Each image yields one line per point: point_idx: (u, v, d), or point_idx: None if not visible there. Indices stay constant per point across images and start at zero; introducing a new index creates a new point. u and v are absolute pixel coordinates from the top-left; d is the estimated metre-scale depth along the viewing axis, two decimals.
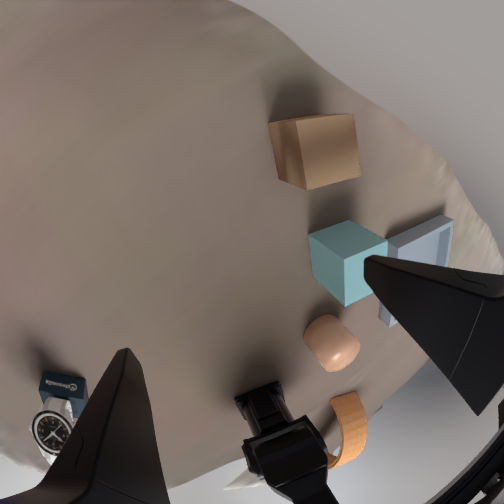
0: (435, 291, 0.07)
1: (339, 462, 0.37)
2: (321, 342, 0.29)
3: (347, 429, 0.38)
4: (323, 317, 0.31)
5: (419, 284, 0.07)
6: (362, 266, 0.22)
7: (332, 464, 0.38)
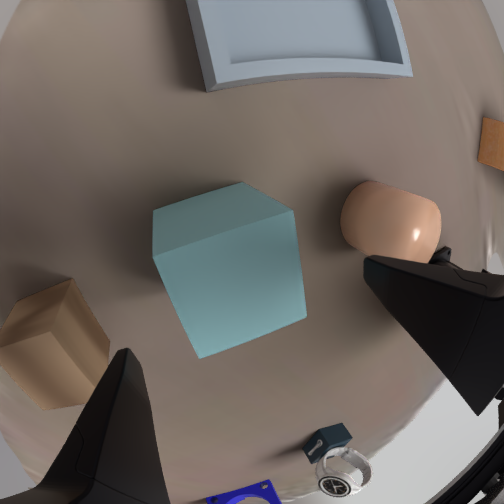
0: (435, 291, 0.07)
1: None
2: None
3: None
4: (343, 223, 0.18)
5: (419, 284, 0.07)
6: (219, 314, 0.10)
7: None
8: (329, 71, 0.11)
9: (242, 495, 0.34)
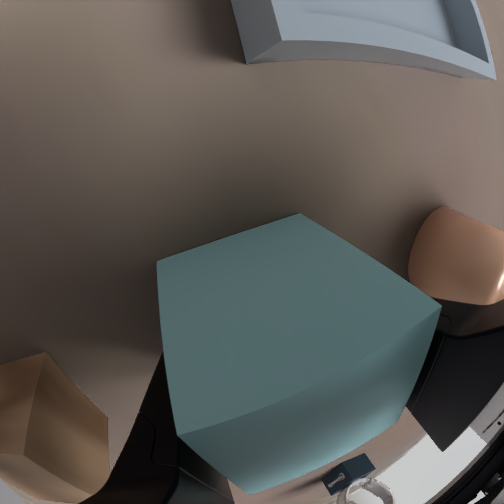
0: None
1: None
2: None
3: None
4: (413, 263, 0.12)
5: None
6: (290, 461, 0.05)
7: None
8: (431, 56, 0.06)
9: None
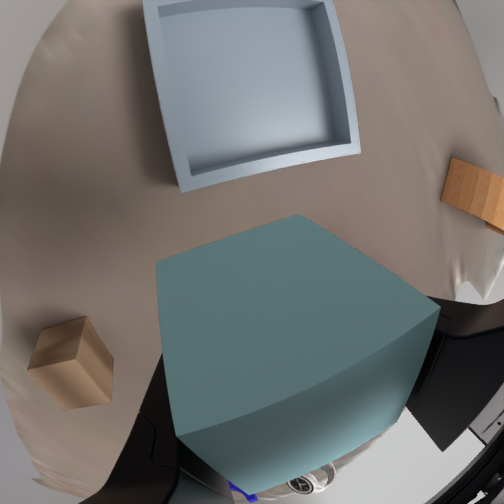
0: None
1: None
2: None
3: (489, 213, 0.22)
4: None
5: None
6: (290, 461, 0.05)
7: None
8: (273, 168, 0.16)
9: None
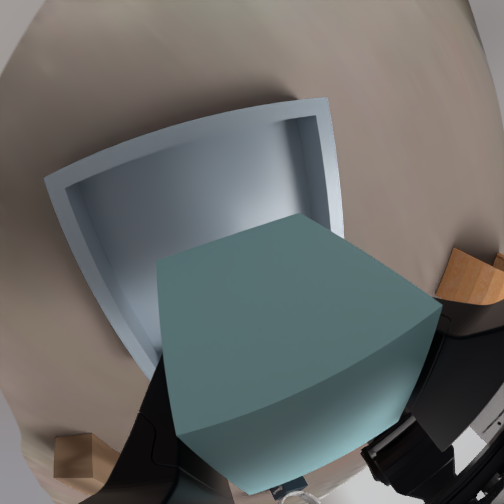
0: None
1: None
2: None
3: None
4: None
5: None
6: (291, 461, 0.05)
7: None
8: None
9: None
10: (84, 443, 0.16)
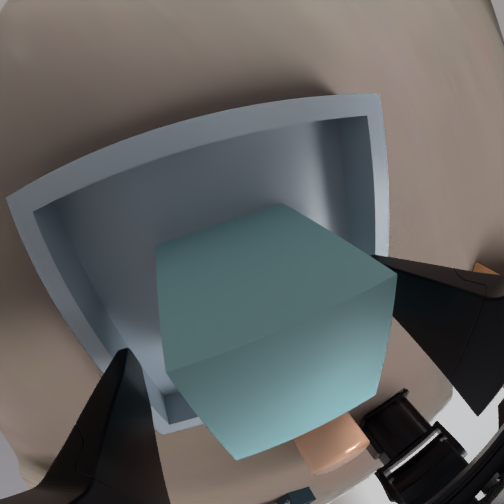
0: (435, 291, 0.07)
1: None
2: None
3: None
4: None
5: (419, 284, 0.07)
6: (270, 420, 0.06)
7: None
8: None
9: None
10: None
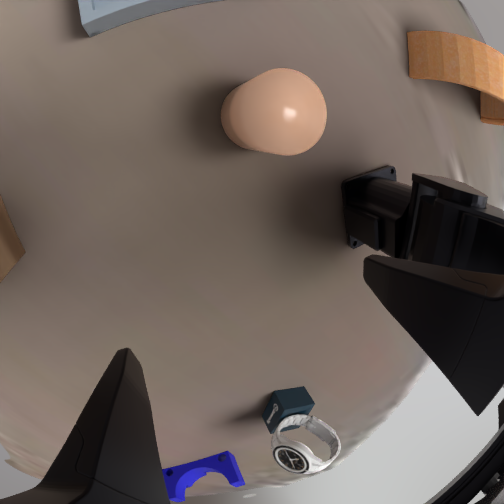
0: (435, 291, 0.07)
1: None
2: (253, 147, 0.15)
3: (469, 76, 0.15)
4: (222, 121, 0.17)
5: (419, 284, 0.07)
6: None
7: None
8: None
9: (199, 468, 0.32)
10: None
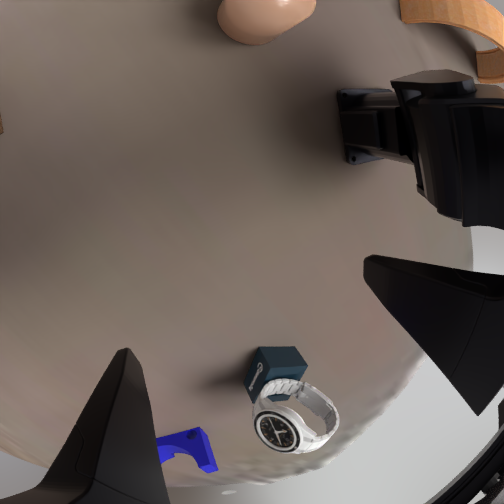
0: (435, 291, 0.07)
1: None
2: (245, 22, 0.12)
3: (458, 17, 0.12)
4: (218, 16, 0.14)
5: (419, 284, 0.07)
6: None
7: None
8: None
9: (165, 447, 0.28)
10: None
